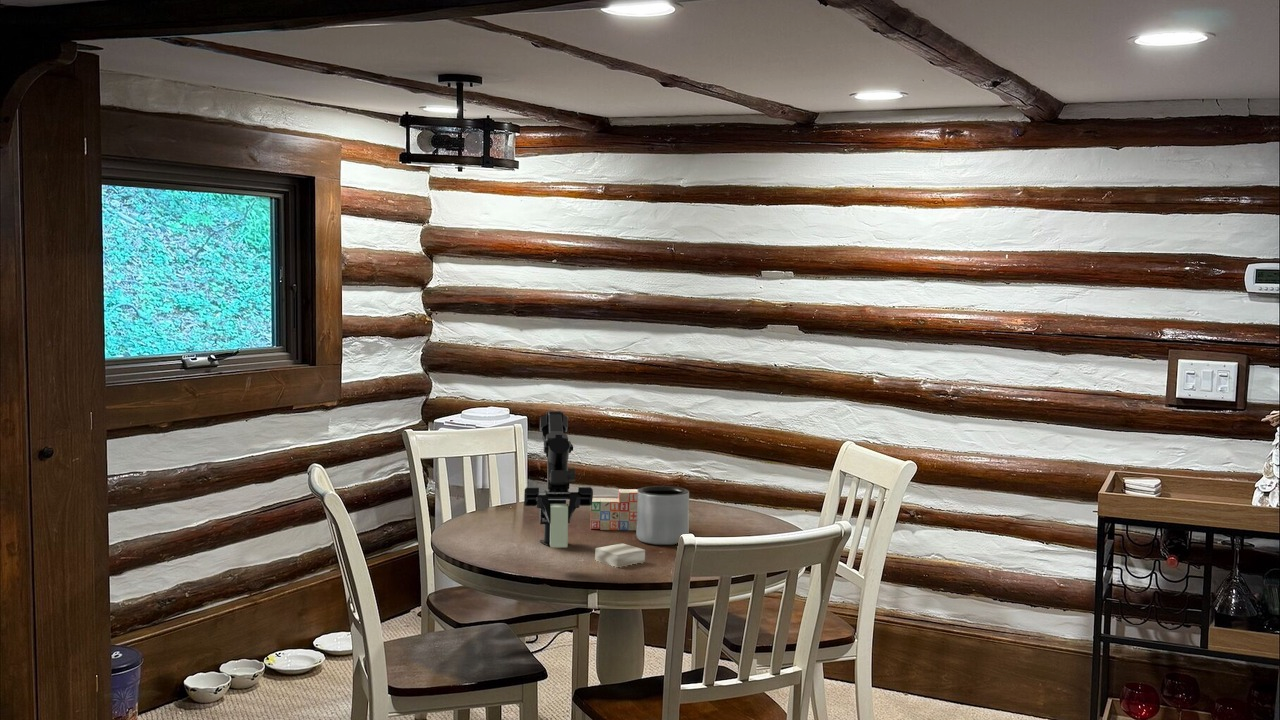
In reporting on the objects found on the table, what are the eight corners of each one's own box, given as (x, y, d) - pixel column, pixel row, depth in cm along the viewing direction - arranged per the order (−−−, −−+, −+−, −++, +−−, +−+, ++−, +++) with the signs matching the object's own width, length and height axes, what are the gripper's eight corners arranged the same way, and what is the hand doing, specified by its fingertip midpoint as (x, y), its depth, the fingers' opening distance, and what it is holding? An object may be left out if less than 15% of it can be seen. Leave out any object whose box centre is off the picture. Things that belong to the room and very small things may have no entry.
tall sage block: (549, 543, 306) (550, 503, 305) (566, 543, 306) (567, 503, 306) (550, 547, 301) (550, 507, 300) (567, 547, 302) (568, 507, 301)
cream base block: (595, 562, 316) (595, 548, 315) (622, 556, 322) (622, 543, 322) (617, 569, 308) (617, 555, 308) (644, 563, 314) (645, 549, 314)
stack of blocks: (590, 530, 355) (590, 492, 354) (590, 526, 361) (590, 488, 360) (657, 530, 356) (657, 492, 355) (656, 526, 362) (656, 489, 361)
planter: (682, 534, 351) (683, 485, 350) (693, 545, 336) (694, 494, 335) (632, 535, 349) (633, 485, 348) (641, 547, 333) (642, 495, 332)
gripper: (524, 458, 305) (525, 506, 295) (593, 458, 307) (595, 505, 297) (524, 481, 313) (524, 528, 303) (590, 481, 316) (592, 528, 305)
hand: (559, 522), depth 302 cm, fingers closed on tall sage block, 5 cm apart
